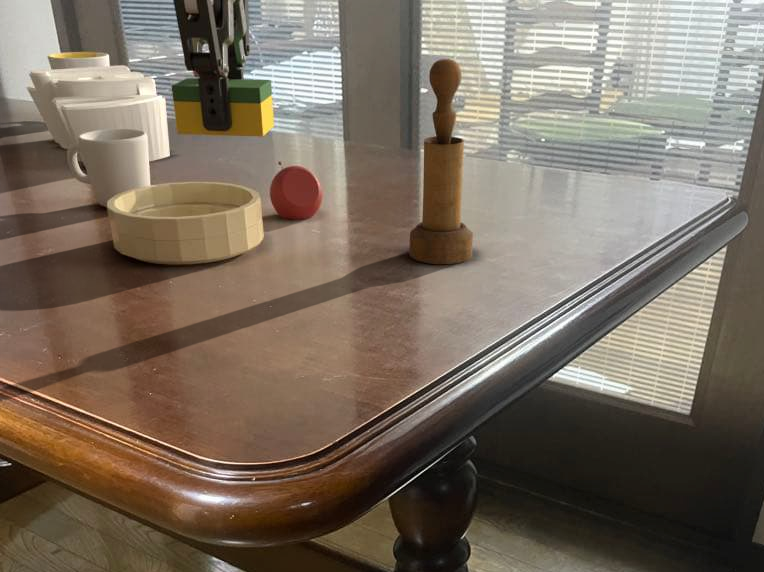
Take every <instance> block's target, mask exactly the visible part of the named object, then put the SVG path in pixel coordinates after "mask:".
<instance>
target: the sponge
mask: <svg viewBox="0 0 764 572" xmlns="http://www.w3.org/2000/svg"><path fill="white" fill-rule="evenodd" d="M198 78H199V77H186V78H185V79H183V80H180V81H179V82H177V83H174V84H172V85H171V94H172V100H173V110H174V117H175V124H176V134H177V135H192V136H193V135H196V136H228V137H229V136H230V137H264V136H265V135H267V134H268V133H269V132H270V131H271V130H272V129H273V128H274V127H275V121H274V120H275V119H274V105H273V92H272V91H273V88H272V80H271V79H249V78H248V79H245V78H244V79H228V81H229V94H230V105H231V116H232V127H231V128H230V129H229V130H228V131H208V130H206V129H205V128H204V126H203V120H202V111H201V102H200V93H199V84H198Z"/></svg>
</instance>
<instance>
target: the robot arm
mask: <svg viewBox="0 0 764 572" xmlns="http://www.w3.org/2000/svg"><path fill="white" fill-rule="evenodd" d="M172 1H173V6H174V11H175V12H174V13H175V15H176V22H177V29H178V32H179V38H180V44H181V48H182V54H183V58H184V65H185V69H186V70H187V71H188V72H193V76H194V78H198V84H199V93H200V102H201V111H202V120H203V126H204V128H205V129H206V130H208V131H228V130H229V129H230V128H231V127H232V116H231V105H230V94H229V81H228V79H245V77H244V68H245V67H246V63H247V57H249V56H250V52H251V45H250V19H249V14H250V13H249V0H172ZM204 45H207V46H208V47H207V48H208V52H203V47H204Z"/></svg>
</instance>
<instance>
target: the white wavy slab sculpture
mask: <svg viewBox="0 0 764 572" xmlns="http://www.w3.org/2000/svg"><path fill="white" fill-rule="evenodd" d="M28 75H29V77H30V80H31V82H32V83H30V84H28V86H27V87H26V89H27V92H28V94H29V95H30V97H31V99H32V101H33V102H34V104H35V106H36V108H37V110H38V112H39V114H40V117H42V120H43V121H44V123H45V125H46V127H47V130H48V131H49V133H50V134H51V136H52V138H53V140H54V142H55V143H56V144H59V146H60V147H61V148H63V149H65V150H68V148H69V147H70V146H71V145H72V144H74V143H77V142H78V137H79V136H80V135H81V134H84V133H87V132H91V131H97V130H107V129H134V130H140V131H143V132H145V133H146V134H147V138H148V154H149V162H153V161H157V160H161V159H165V158H169V157H170V156H171V153H170V140H169V129H168V128H169V127H168V115H167V106H166V105H167V103H166V97H163V95H158V94H157V89H156V81H155V79H153V77H152V76H145V75H144V74H142V72H139V71H132V72H131V70H130V68H129V67H128V66H127V65H110V66H103V67H86V68H71V69H56V70H51V69H44V70H30V72H29V73H28ZM77 162H78V163H83V166H84V167H85V168H86V166H85V163H84V159H83V156H82V153H81V152H80V151H78V152H77Z"/></svg>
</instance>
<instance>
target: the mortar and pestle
mask: <svg viewBox="0 0 764 572" xmlns="http://www.w3.org/2000/svg"><path fill="white" fill-rule="evenodd" d="M428 79H429V80H428V81H429V84H430V87H431V89H432V91H433V93H434V95H435V98H436V108H435V110H434V111H433V112H432V115H431V116H432V122H433V127H434V128H433V129H434V132H435V135H433V136H429V137H427V138H424V139H423V184H422V186H423V188H422V189H423V190H422V217H421V218H422V220H421V222H419V223H418V224H417V225H416V226H415V227H414V228H413V229H411V230H410V232H409V256H410V258H412V259H413V260H415V261H418V262H420V263H425V264H431V265H452V264H460V263H463V262H466V261H468V260H470V259H471V258H472V256H473V248H474V247H473V246H474V234H473V231H472V230H471V229H469V228H468V227H467V225H466V224H465V223H464V222H461V220H462V218H461V217H462V195H463V172H464V171H463V170H464V147H465V141H464V139H463V138H460V137H456V136H452V135H453V132H454V127H455V124H456V121H457V112H455V111H454V109H453V100H454V97H455V95H456V93H457V91H458V89H459V87H460V85H461V82H462V70H461V68H460V65H459V63H458V62H457V61H456V60H454V59H451V58H441V59H438V60H436V61H435V62H433V64H431V67H430V69H429V75H428Z"/></svg>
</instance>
